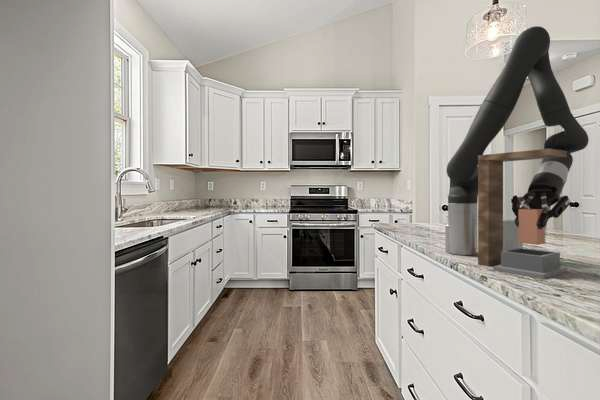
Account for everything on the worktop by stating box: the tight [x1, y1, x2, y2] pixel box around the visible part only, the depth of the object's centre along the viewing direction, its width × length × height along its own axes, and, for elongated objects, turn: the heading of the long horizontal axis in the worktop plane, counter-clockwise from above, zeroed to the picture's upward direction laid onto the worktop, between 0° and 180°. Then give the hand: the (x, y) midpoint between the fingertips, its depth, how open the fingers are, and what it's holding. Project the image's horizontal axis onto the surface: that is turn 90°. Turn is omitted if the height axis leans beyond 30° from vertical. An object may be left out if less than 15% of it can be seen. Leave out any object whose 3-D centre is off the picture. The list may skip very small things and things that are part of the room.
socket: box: [492, 248, 568, 280], centre depth 94 cm, size 12×14×5 cm
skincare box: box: [503, 219, 524, 251], centre depth 113 cm, size 6×4×12 cm
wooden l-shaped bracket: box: [477, 148, 567, 267], centre depth 97 cm, size 18×10×32 cm, turn 34°
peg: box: [519, 209, 546, 246], centre depth 95 cm, size 4×4×9 cm
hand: (528, 226), depth 94 cm, fingers closed on peg, 4 cm apart
